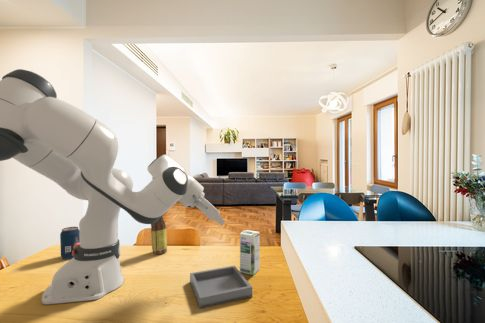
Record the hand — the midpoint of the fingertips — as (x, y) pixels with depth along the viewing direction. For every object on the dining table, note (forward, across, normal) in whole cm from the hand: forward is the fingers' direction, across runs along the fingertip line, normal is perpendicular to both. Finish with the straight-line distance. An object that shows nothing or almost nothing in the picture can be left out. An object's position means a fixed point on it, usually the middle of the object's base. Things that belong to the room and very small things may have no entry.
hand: (219, 219), depth 90 cm
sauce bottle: (+1, +31, +28) cm, 42 cm away
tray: (+13, -8, +16) cm, 22 cm away
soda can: (-23, +40, +52) cm, 70 cm away
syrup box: (+23, 0, +6) cm, 24 cm away
